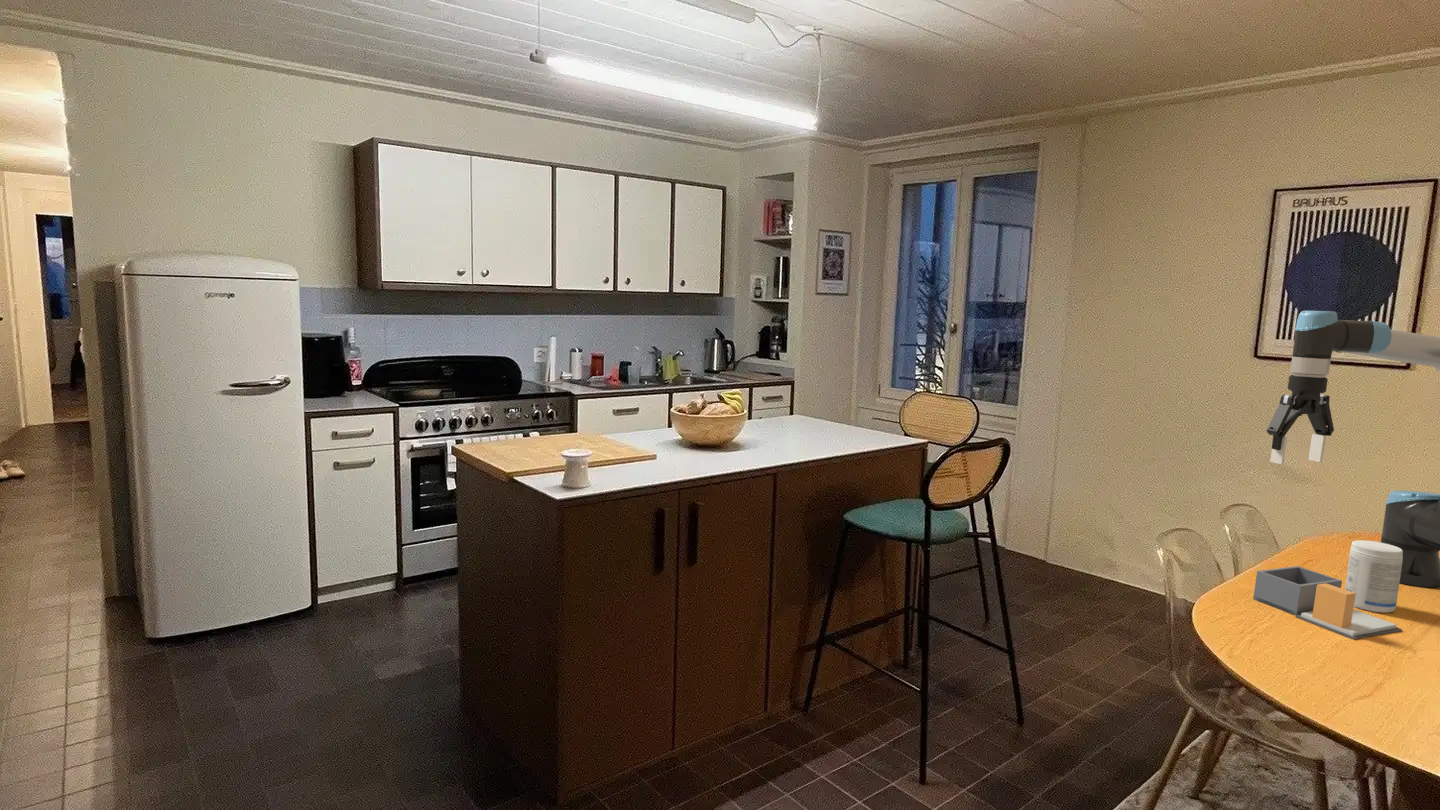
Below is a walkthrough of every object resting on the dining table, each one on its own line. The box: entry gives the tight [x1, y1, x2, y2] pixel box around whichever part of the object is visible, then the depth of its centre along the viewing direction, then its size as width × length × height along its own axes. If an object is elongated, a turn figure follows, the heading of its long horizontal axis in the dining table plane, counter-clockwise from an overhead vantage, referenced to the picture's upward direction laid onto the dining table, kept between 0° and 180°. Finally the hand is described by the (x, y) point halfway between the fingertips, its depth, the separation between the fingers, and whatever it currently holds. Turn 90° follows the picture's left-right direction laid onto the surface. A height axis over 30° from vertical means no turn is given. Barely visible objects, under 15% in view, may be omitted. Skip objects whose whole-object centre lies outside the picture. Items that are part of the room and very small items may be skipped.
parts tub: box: [1252, 565, 1343, 616], centre depth 185 cm, size 14×10×7 cm
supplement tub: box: [1344, 539, 1403, 614], centre depth 185 cm, size 10×10×15 cm
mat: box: [1294, 615, 1403, 640], centre depth 175 cm, size 16×12×1 cm
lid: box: [1301, 583, 1397, 636], centre depth 174 cm, size 15×11×8 cm
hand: (1296, 462), depth 192 cm, fingers open, 13 cm apart
